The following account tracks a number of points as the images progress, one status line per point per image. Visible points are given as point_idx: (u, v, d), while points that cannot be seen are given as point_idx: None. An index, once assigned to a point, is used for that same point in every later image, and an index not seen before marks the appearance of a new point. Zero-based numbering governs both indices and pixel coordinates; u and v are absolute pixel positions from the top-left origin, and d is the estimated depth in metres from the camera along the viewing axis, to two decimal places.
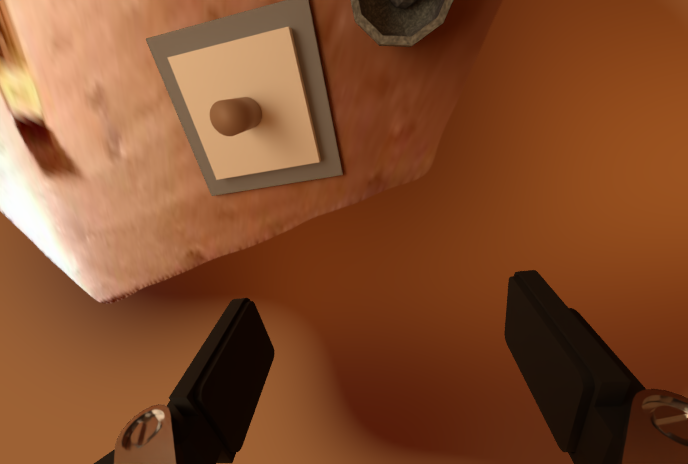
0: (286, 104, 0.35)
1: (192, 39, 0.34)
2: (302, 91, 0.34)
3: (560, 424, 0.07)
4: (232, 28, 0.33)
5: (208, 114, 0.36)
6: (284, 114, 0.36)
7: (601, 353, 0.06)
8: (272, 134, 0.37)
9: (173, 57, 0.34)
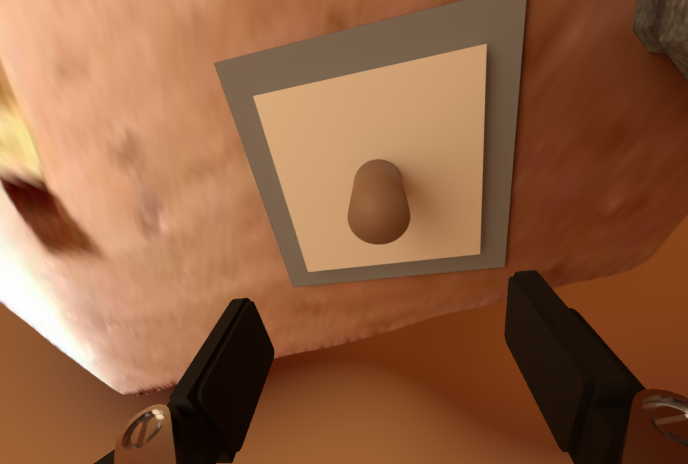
0: (447, 171, 0.21)
1: (296, 64, 0.20)
2: (481, 152, 0.20)
3: (560, 424, 0.07)
4: (371, 46, 0.19)
5: (310, 184, 0.22)
6: (440, 186, 0.21)
7: (601, 353, 0.06)
8: (412, 214, 0.23)
9: (263, 96, 0.20)
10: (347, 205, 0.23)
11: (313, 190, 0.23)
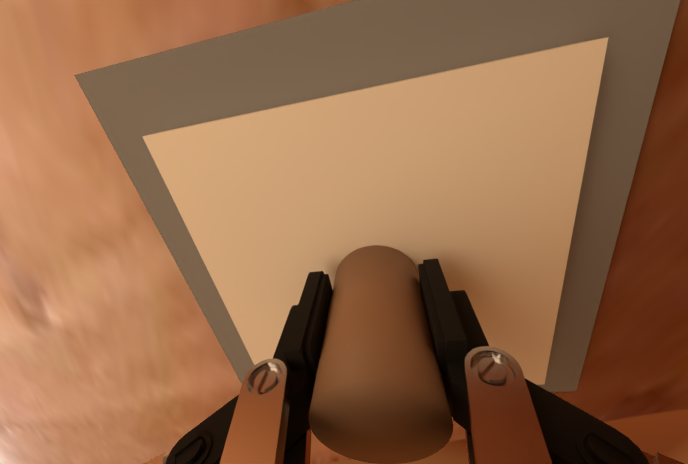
0: (501, 267, 0.12)
1: (223, 78, 0.10)
2: (567, 239, 0.11)
3: None
4: (363, 43, 0.10)
5: (261, 279, 0.13)
6: (485, 289, 0.12)
7: (455, 320, 0.08)
8: None
9: (162, 136, 0.10)
10: None
11: (267, 288, 0.13)
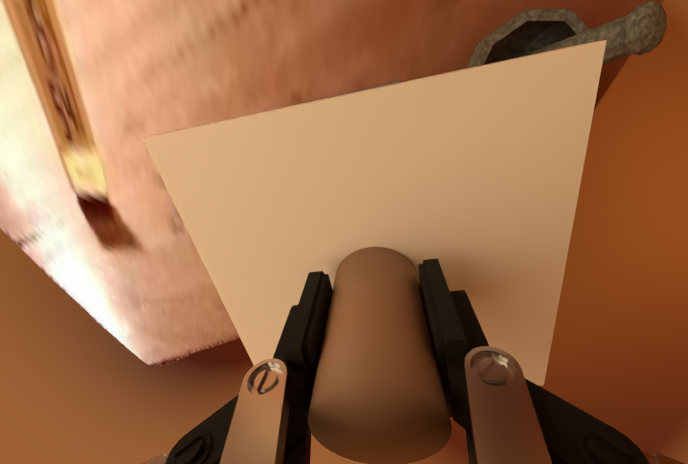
0: (500, 269, 0.12)
1: None
2: (566, 240, 0.11)
3: None
4: None
5: (261, 280, 0.13)
6: (484, 290, 0.12)
7: (455, 320, 0.08)
8: None
9: (161, 138, 0.10)
10: None
11: (267, 289, 0.13)
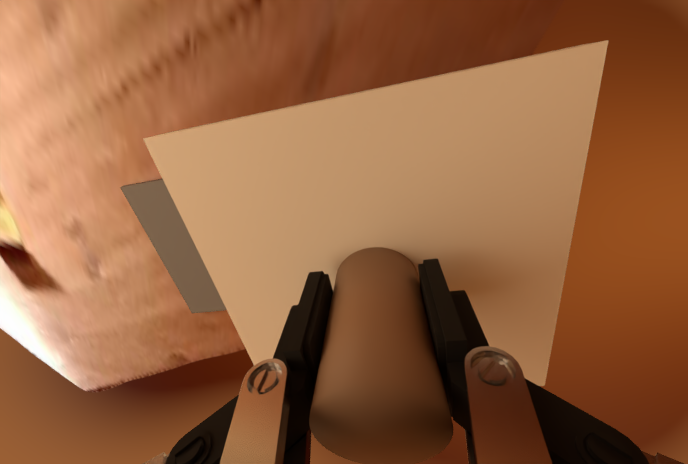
0: (501, 269, 0.12)
1: (166, 189, 0.34)
2: (567, 240, 0.11)
3: None
4: None
5: (262, 280, 0.13)
6: (486, 290, 0.12)
7: (455, 320, 0.08)
8: None
9: (162, 139, 0.10)
10: None
11: (267, 290, 0.13)
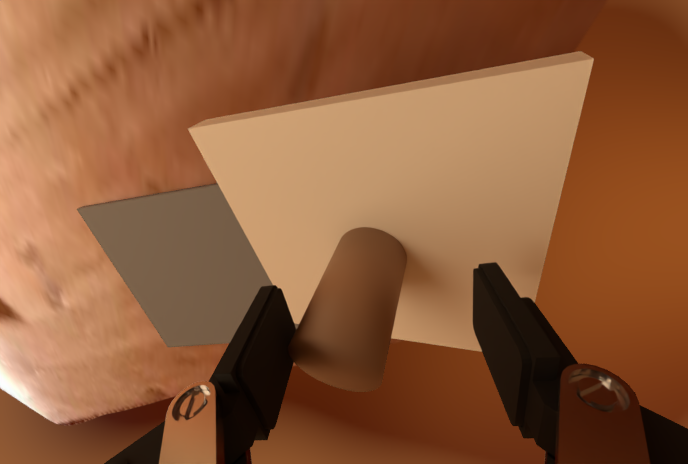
0: (480, 258, 0.13)
1: (130, 212, 0.29)
2: (545, 242, 0.11)
3: (510, 400, 0.08)
4: (175, 204, 0.28)
5: (282, 241, 0.16)
6: (466, 274, 0.14)
7: (540, 333, 0.07)
8: (422, 297, 0.16)
9: (201, 129, 0.13)
10: None
11: (287, 248, 0.17)
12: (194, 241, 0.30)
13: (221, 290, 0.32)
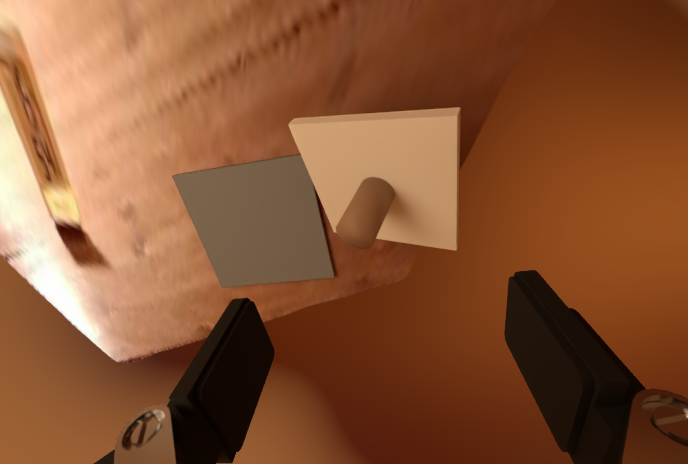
0: (428, 194, 0.26)
1: (211, 178, 0.41)
2: (455, 187, 0.25)
3: (560, 424, 0.07)
4: (244, 172, 0.40)
5: (331, 183, 0.31)
6: (423, 202, 0.27)
7: (601, 353, 0.06)
8: (404, 215, 0.30)
9: (295, 125, 0.27)
10: None
11: (333, 187, 0.31)
12: (253, 200, 0.42)
13: (269, 239, 0.45)
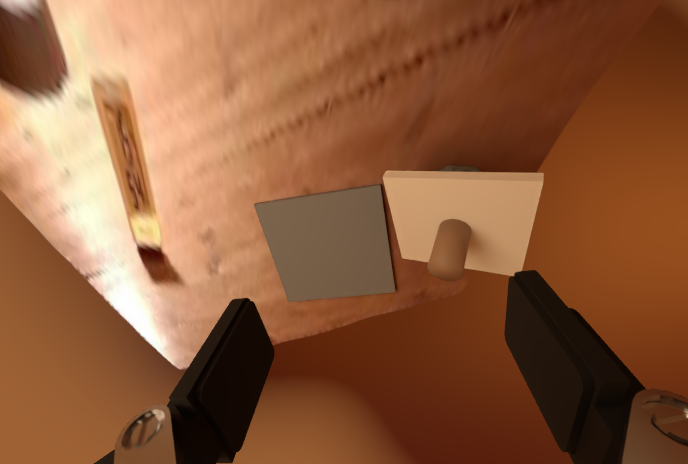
0: (504, 234, 0.31)
1: (289, 206, 0.45)
2: (530, 230, 0.30)
3: (560, 424, 0.07)
4: (321, 201, 0.44)
5: (411, 221, 0.36)
6: (497, 240, 0.32)
7: (601, 353, 0.06)
8: (475, 248, 0.35)
9: (389, 178, 0.32)
10: (432, 235, 0.36)
11: (412, 224, 0.36)
12: (327, 225, 0.46)
13: (337, 259, 0.49)
